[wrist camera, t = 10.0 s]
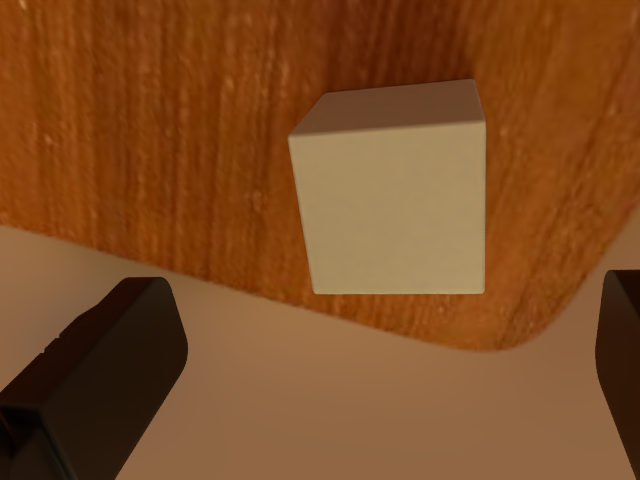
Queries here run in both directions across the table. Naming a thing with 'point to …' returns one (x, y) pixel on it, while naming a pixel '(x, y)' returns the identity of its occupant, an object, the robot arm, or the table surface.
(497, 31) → the table surface
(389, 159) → the block
